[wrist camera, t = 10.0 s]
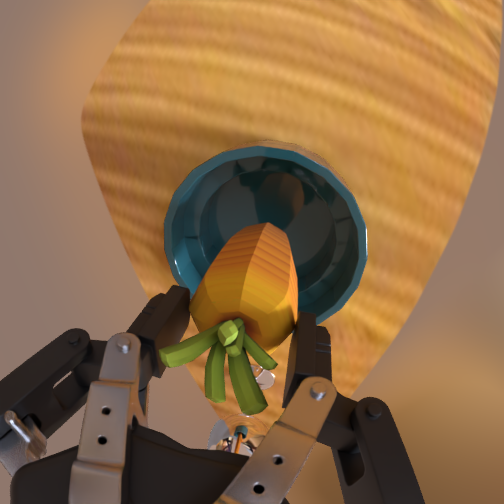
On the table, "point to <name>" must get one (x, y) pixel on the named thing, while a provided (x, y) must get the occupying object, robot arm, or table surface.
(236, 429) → the wineglass
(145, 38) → the table surface
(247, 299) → the carrot
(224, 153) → the bowl
